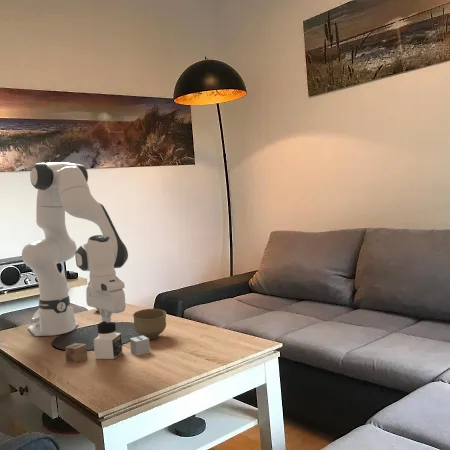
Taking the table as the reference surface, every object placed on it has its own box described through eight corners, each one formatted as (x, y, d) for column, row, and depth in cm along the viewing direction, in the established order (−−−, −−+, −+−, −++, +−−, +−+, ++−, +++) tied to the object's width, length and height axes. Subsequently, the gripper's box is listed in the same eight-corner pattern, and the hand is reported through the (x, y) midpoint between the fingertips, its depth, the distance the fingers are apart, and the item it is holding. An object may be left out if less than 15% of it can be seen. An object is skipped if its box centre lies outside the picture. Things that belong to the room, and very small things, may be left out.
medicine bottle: (114, 359, 168) (111, 325, 167) (94, 359, 169) (92, 325, 168) (122, 352, 175) (120, 319, 174) (104, 352, 176) (101, 319, 175)
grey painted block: (131, 352, 175) (129, 337, 174) (143, 348, 178) (142, 334, 177) (136, 355, 171) (135, 341, 170) (149, 352, 173) (148, 337, 173)
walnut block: (66, 361, 169) (65, 346, 169) (77, 356, 174) (76, 342, 173) (76, 363, 167) (75, 348, 166) (87, 358, 171) (86, 343, 171)
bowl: (144, 345, 181) (142, 319, 180) (129, 338, 191) (127, 312, 190) (173, 337, 188) (172, 312, 187) (158, 330, 198) (156, 306, 198)
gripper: (80, 281, 175) (83, 319, 176) (110, 287, 161) (114, 328, 162) (96, 278, 180) (99, 315, 181) (127, 283, 165) (130, 324, 166)
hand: (106, 321), depth 171 cm, fingers closed
